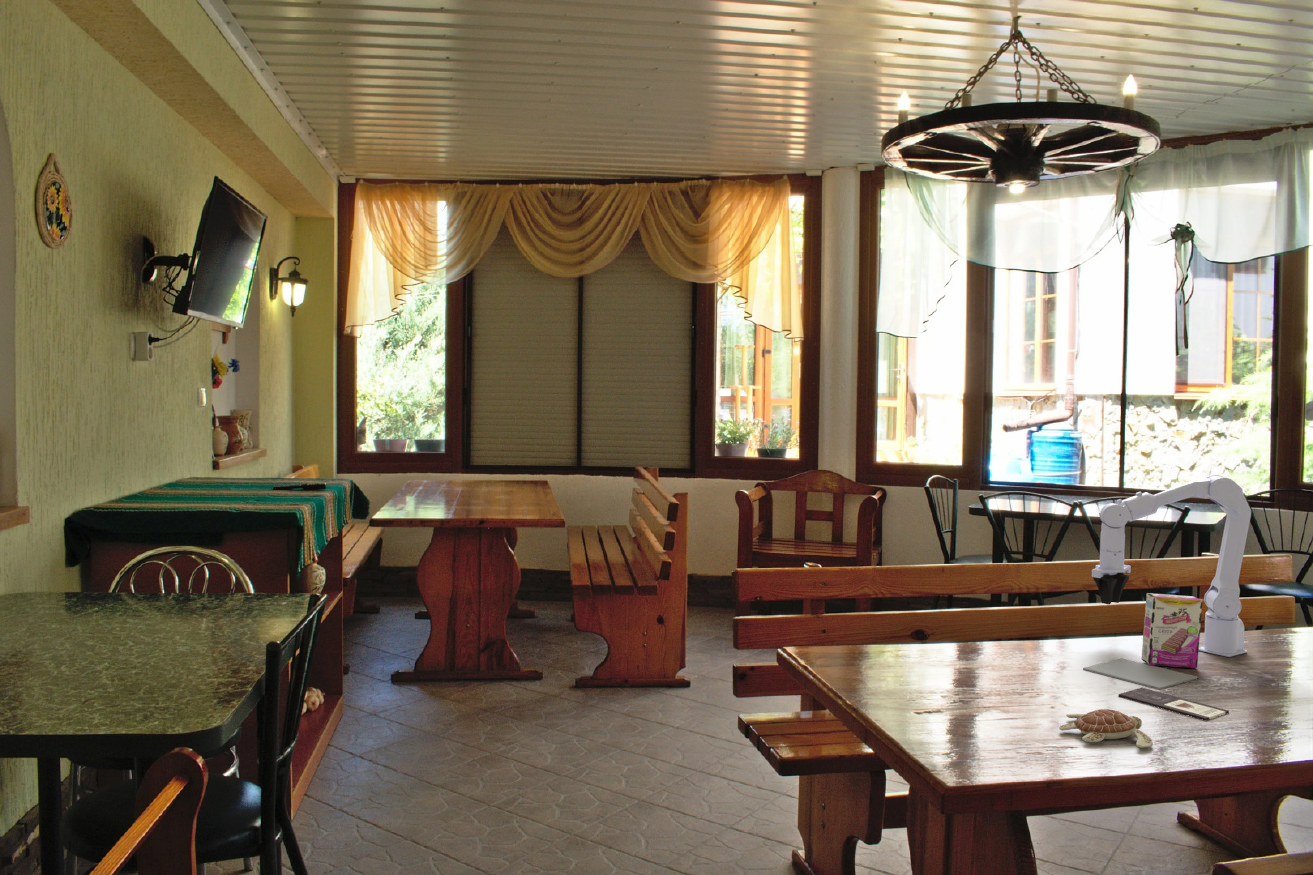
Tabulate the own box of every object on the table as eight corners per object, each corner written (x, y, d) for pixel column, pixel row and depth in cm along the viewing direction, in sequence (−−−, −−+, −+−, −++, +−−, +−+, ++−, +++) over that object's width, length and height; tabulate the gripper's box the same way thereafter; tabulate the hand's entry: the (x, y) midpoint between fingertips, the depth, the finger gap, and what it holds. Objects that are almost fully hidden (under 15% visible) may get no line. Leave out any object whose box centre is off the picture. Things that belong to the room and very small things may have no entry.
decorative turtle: (1181, 748, 177) (1182, 721, 177) (1110, 759, 171) (1111, 730, 171) (1103, 716, 194) (1104, 692, 194) (1036, 725, 188) (1037, 699, 188)
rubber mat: (1121, 659, 235) (1121, 658, 235) (1197, 678, 220) (1197, 676, 220) (1083, 669, 226) (1083, 667, 226) (1159, 689, 211) (1159, 687, 211)
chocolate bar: (1141, 687, 211) (1228, 710, 196) (1141, 691, 211) (1228, 715, 196) (1118, 694, 206) (1205, 718, 191) (1118, 698, 206) (1205, 723, 191)
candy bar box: (1149, 665, 229) (1153, 596, 228) (1140, 660, 234) (1144, 592, 233) (1199, 669, 228) (1203, 599, 227) (1189, 663, 233) (1193, 595, 232)
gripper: (1113, 546, 258) (1111, 597, 259) (1081, 550, 250) (1079, 602, 250) (1139, 549, 252) (1137, 601, 253) (1107, 554, 244) (1105, 608, 245)
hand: (1110, 602), depth 251 cm, fingers open, 3 cm apart
